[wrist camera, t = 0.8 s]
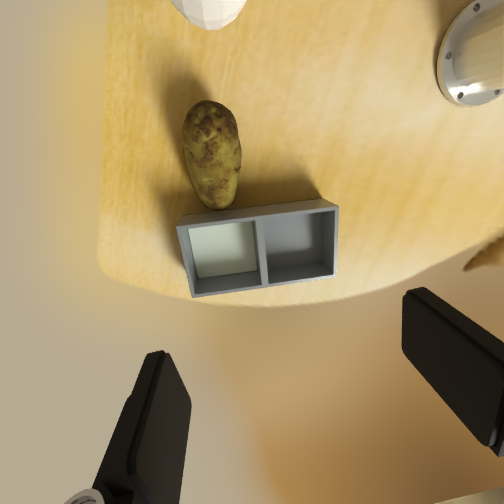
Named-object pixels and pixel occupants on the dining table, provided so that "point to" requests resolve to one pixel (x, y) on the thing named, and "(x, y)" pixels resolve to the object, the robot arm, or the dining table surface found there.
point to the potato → (212, 153)
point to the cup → (209, 12)
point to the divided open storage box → (259, 246)
